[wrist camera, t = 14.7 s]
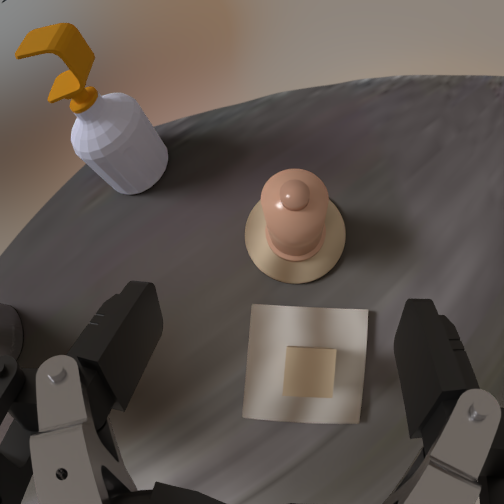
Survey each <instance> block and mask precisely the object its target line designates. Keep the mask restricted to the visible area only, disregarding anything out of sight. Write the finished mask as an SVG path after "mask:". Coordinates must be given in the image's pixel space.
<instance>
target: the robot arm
mask: <svg viewBox="0 0 504 504" xmlns="http://www.w3.org/2000/svg"><path fill="white" fill-rule="evenodd" d="M162 331H163V318H162V313H161V309H160V305H159V301H158V297H157V293H156V288H155V286H154V284H153V283H150V282H140V281H130V282H129V283H128V284H127V285H126V286H125V288H124V289H123V290H122V292H121V293H120V294H115V295H114V296H113V297H111V298H110V299H108V300H107V301H106V302H104V303H103V305H102V306H101V307H100V309H99V310H98V311H97V313H96V315H94V317H93V318H92V320H91V321H90V324H88V325H87V326H86V328H85V329H84V331H83V332H82V333H81V335H80V336H79V338H78V339H77V340H76V342H75V343H74V345H73V346H72V347H71V349H70V350H69V352H68V353H67V355H58V356H54V357H51V358H49V359H48V360H46V361H45V362H44V363H43V364H42V365H41V366H40V367H39V368H20V366H19V365H18V363H17V362H16V359H17V358H18V356H19V354H20V352H21V348H22V343H23V330H22V324H21V320H20V318H19V315H18V313H17V312H16V310H15V309H14V308H13V307H11V306H10V305H6V304H1V303H0V425H1V423H2V421H3V419H4V418H5V416H6V414H7V412H9V414H10V415H11V416H12V417H13V418H14V420H13V422H12V424H11V425H10V427H9V429H8V431H7V433H6V435H5V437H4V439H3V441H2V443H1V445H0V504H21V501H22V499H23V496H24V494H25V491H26V489H27V487H28V484H29V482H30V479H31V477H32V475H34V481H35V487H36V492H37V498H38V503H39V504H226V503H223V502H221V501H218V500H216V499H214V498H211V497H209V496H207V495H204V494H202V493H200V492H198V491H193V490H189V489H184V488H180V487H175V486H171V485H167V484H163V483H160V482H155V485H154V488H153V490H140V491H138V490H137V488H136V486H135V484H134V482H133V480H132V478H131V476H130V475H129V473H128V471H127V469H126V467H125V465H124V462H123V459H122V456H121V453H120V450H119V447H118V444H117V441H116V438H115V434H114V431H113V427H112V424H111V420H110V418H109V416H108V415H109V413H110V411H111V409H112V408H113V409H116V410H120V411H124V412H125V409H126V407H127V405H128V403H129V401H130V399H131V397H132V395H133V392H134V390H135V388H136V386H137V384H138V382H139V380H140V378H141V376H142V374H143V372H144V370H145V368H146V365H147V363H148V361H149V359H150V357H151V355H152V353H153V351H154V349H155V347H156V345H157V343H158V341H159V339H160V337H161V335H162ZM394 354H395V359H396V363H397V368H398V373H399V378H400V383H401V388H402V393H403V399H404V404H405V410H406V416H407V422H408V429H409V435H410V439H413V438H422V439H423V447H422V448H421V449H420V451H419V452H418V454H417V456H416V457H415V459H414V460H413V462H412V463H411V465H410V467H409V468H408V470H407V471H406V473H405V474H404V476H403V477H402V479H401V480H400V481H399V483H398V484H397V486H396V487H395V489H394V490H393V491H392V493H391V494H390V495H389V497H388V498H387V499H386V500H385V501H384V502H383V503H382V504H475V502H476V500H477V498H478V496H479V497H480V504H504V408H501V407H500V405H499V403H498V401H497V400H496V399H495V398H494V396H493V395H491V394H490V393H488V392H487V391H484V390H481V389H480V388H479V385H478V382H477V380H476V377H475V374H474V372H473V369H472V366H471V364H470V361H469V359H468V356H467V354H466V351H464V346H463V344H462V342H461V341H460V337H459V335H458V332H457V330H456V328H455V326H454V325H453V324H452V323H451V322H450V321H449V319H448V318H447V317H446V316H445V315H438V312H437V310H436V308H435V305H434V303H433V301H432V300H431V299H408V300H407V301H406V304H405V307H404V310H403V313H402V316H401V319H400V323H399V326H398V329H397V332H396V335H395V339H394ZM477 480H478V482H477ZM290 504H294V503H290Z"/></svg>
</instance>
